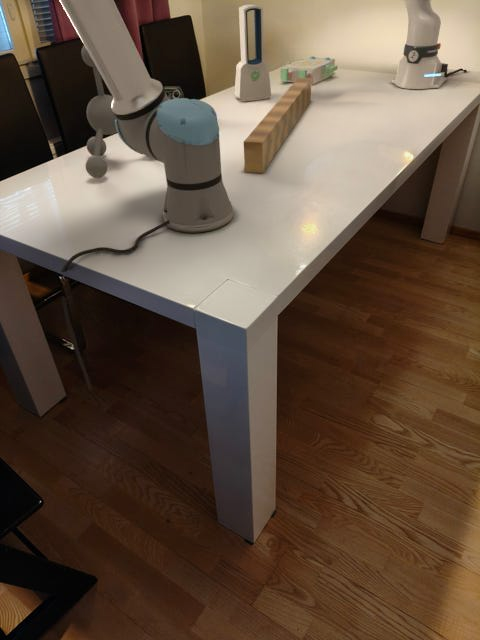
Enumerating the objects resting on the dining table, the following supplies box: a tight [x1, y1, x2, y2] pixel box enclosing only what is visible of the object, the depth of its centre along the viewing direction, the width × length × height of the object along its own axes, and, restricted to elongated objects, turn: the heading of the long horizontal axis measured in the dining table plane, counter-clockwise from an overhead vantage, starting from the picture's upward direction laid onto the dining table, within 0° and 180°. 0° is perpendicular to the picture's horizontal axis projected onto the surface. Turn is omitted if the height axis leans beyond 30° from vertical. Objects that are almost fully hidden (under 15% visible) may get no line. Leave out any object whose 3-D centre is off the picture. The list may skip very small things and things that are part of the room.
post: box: [243, 78, 312, 174], centre depth 151 cm, size 71×5×8 cm, turn 164°
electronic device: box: [234, 4, 272, 103], centre depth 177 cm, size 12×8×30 cm, turn 105°
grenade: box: [163, 86, 185, 100], centre depth 166 cm, size 7×6×10 cm
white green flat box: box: [280, 56, 338, 85], centre depth 206 cm, size 26×6×20 cm
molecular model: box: [80, 44, 149, 179], centre depth 128 cm, size 24×22×30 cm
